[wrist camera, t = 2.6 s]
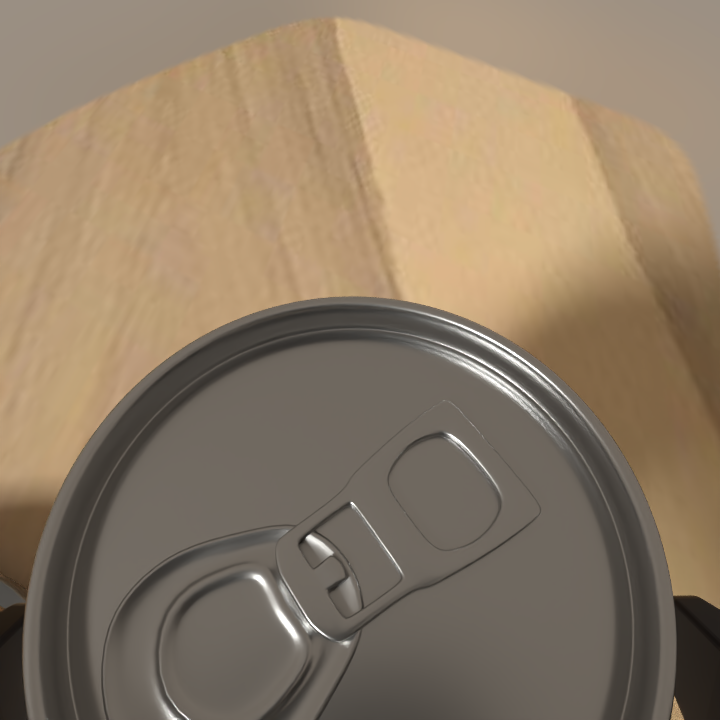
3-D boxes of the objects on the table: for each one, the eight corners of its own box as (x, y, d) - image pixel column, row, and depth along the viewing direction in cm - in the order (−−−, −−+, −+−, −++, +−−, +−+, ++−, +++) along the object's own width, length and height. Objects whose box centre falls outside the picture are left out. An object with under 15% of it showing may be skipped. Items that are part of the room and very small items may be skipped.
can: (202, 595, 16) (-126, 474, 5) (385, 467, 18) (412, 180, 7) (329, 833, 13) (186, 1503, 3) (528, 656, 15) (906, 656, 5)
